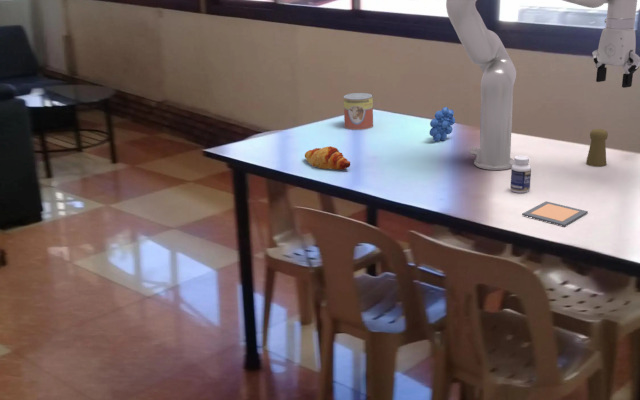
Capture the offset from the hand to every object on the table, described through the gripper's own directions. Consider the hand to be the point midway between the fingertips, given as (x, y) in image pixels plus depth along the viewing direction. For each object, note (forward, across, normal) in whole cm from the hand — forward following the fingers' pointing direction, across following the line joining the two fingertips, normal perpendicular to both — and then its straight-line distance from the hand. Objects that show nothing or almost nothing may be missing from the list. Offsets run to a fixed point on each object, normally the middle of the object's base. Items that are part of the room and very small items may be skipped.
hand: (613, 84), depth 215 cm
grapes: (+28, -56, -20) cm, 66 cm away
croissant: (+28, -52, -68) cm, 90 cm away
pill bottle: (+27, 0, -32) cm, 42 cm away
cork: (+27, -6, +4) cm, 28 cm away
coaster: (+27, +20, -37) cm, 50 cm away
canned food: (+28, -91, -35) cm, 101 cm away
